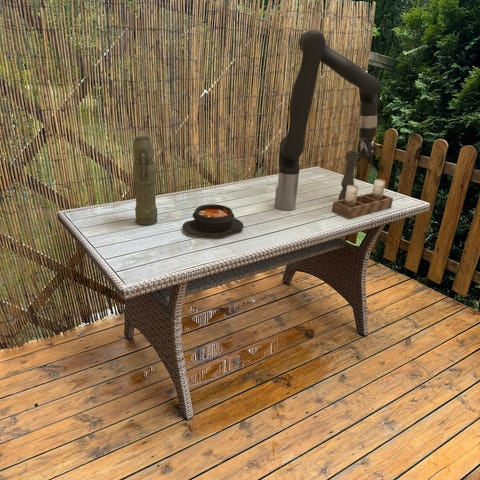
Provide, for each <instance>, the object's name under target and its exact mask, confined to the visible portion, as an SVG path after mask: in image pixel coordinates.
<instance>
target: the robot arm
mask: <svg viewBox="0 0 480 480" xmlns="http://www.w3.org/2000/svg"><path fill="white" fill-rule="evenodd" d="M298 47H299V50H300V51H301V52H302V58H301V63H300V64H301V65H300V68H299V71H298V74H297V76H296V78H295V81H294V84H293V86H292V91H291V94H290V95H291V96H290V100H289V107H288V108H289V112H288V114H289V127H288V131H287V135H286V136H284V137H283V138H282V139H281V141H280V143H279V148H278V149H279V151H278V176H277V177H278V179H277V187H275V196H274V197H275V199H274V208H276V209H278V210H280V211H286V212H287V211H293V210H295V209H296V205H297V197H298V196H297V195H298V186H299V176H300V169H301V168H300V157H301V156H302V154H303V152H304V149H305V139H306V131H307V126H308V121H309V117H310V113H311V109H312V106H313V105H312V104H313V100H314V94H315V90H316V83H317V79H318V73H319V72H318V71H319V67H320V64H321V63H322V64H324V65H325V66H327V67H328V68H330V69H331V70H332V71H333V72H335V73H336V74H338V75H339V76H340V77H341V78H343V79H344V80H345V81H346V82H348V83H350V84H351V85H355V86H356V87H357V88H358V95H359V96H358V97H359V101H360V113H359V114H360V116H359V124H358V125H359V126H358V127H359V128H358V132H359V133H358V136H359V149H360V158H361V159H362V160H364V159H365V160H366V164H367V165H371V164H373V157H374V156H375V155H376V141H373V140H374V139H373V138H375V137H376V136H377V131H378V102H377V101H376V97H375V96H376V95H378V94H379V93H380V91H381V89H382V84H381V81H380V80H379V79H378V78H377V77H375V76H374V75H372V74H371V73H369V72H367V71H365V70H364V69H363V68H361V67H360V66H359V65H357V64H356V63H355V62H354V61H352V60H350V59H349V58H348V57H346V56H344V55H343V54H340V53H339V52H337V51H336V50H333V49H332V48H331V47H330V46H328V45H327V43H326V37H325V35H324V34H323V33H322V32H321V31H320V30H308V31H305V32H303V33H302V34H301V35H300V37H299V40H298Z"/></svg>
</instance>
